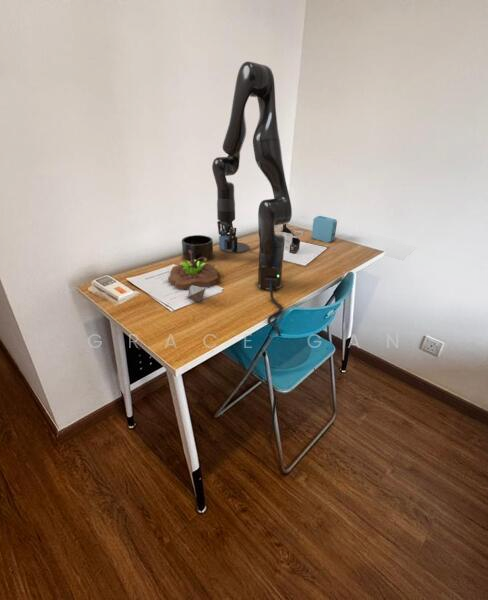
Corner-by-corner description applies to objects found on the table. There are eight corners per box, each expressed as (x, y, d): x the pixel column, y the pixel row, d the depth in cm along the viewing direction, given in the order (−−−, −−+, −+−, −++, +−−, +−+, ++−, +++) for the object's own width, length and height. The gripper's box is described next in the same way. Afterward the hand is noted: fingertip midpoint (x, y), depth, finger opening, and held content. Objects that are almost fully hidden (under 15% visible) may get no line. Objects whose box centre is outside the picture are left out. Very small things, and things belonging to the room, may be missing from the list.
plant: (213, 265, 141) (212, 241, 136) (223, 285, 125) (222, 258, 120) (166, 270, 136) (163, 245, 130) (170, 291, 120) (167, 263, 114)
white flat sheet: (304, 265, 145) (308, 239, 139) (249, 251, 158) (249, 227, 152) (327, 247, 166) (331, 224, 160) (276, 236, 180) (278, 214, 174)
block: (234, 248, 142) (234, 237, 140) (224, 250, 140) (224, 239, 138) (229, 245, 146) (229, 234, 144) (219, 247, 144) (219, 236, 141)
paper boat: (182, 290, 118) (204, 280, 121) (190, 306, 119) (212, 295, 121) (184, 287, 107) (209, 276, 109) (193, 304, 107) (217, 293, 110)
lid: (246, 255, 153) (246, 243, 150) (216, 252, 155) (216, 240, 152) (251, 245, 166) (251, 233, 163) (224, 243, 168) (223, 231, 165)
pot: (208, 264, 142) (207, 246, 138) (178, 261, 144) (177, 243, 140) (216, 253, 154) (216, 236, 150) (188, 251, 156) (187, 234, 152)
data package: (334, 241, 176) (337, 219, 170) (330, 243, 173) (333, 221, 167) (315, 236, 182) (317, 215, 176) (311, 238, 179) (313, 216, 173)
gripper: (210, 205, 138) (212, 243, 147) (225, 213, 128) (226, 253, 136) (226, 204, 142) (227, 241, 150) (242, 211, 131) (242, 250, 139)
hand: (226, 247), depth 143 cm, fingers closed on block, 5 cm apart
